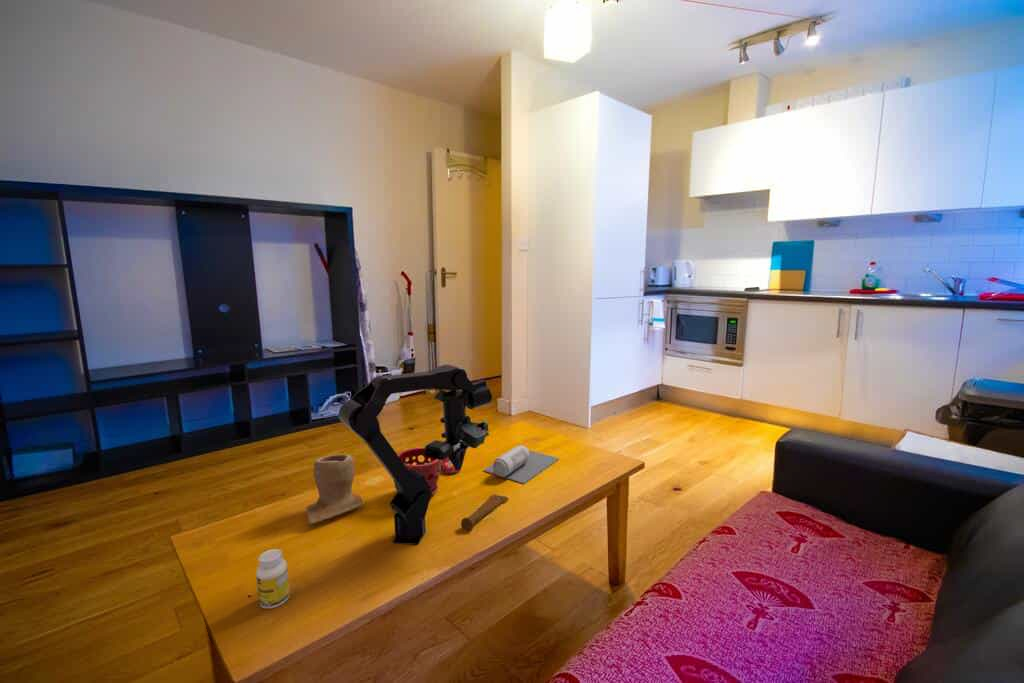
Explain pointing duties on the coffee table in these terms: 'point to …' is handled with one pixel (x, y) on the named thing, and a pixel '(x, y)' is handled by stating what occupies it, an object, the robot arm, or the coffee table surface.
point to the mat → (529, 467)
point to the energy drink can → (511, 461)
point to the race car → (448, 466)
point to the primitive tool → (483, 511)
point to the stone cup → (333, 488)
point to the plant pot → (423, 466)
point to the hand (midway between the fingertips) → (458, 470)
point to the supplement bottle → (272, 579)
